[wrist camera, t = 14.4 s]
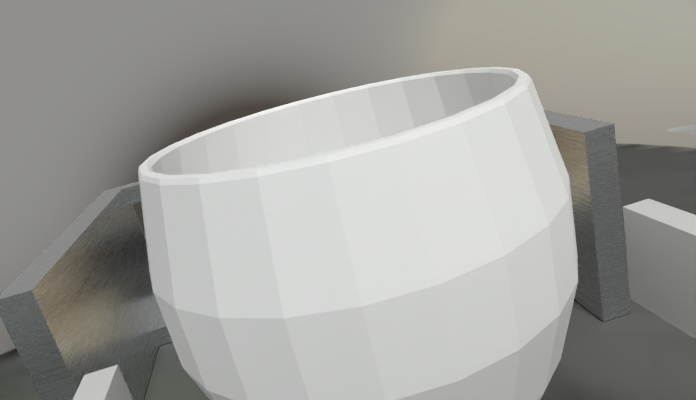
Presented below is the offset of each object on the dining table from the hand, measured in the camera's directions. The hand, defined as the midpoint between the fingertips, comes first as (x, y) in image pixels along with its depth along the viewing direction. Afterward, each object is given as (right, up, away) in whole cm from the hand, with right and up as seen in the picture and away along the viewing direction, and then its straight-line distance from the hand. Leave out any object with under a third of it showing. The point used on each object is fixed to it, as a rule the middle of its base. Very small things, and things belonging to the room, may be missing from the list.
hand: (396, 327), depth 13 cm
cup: (+2, -9, +4) cm, 10 cm away
